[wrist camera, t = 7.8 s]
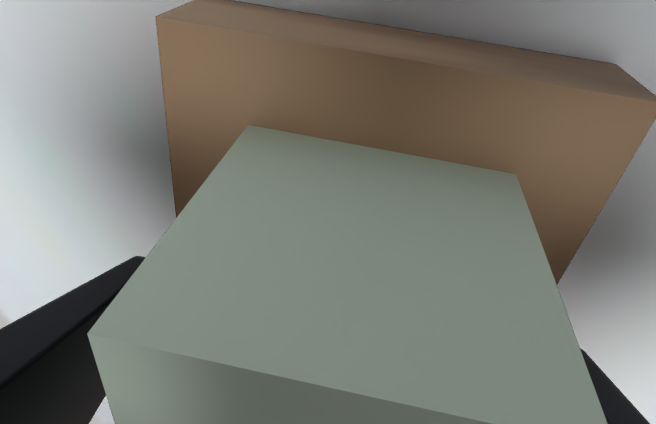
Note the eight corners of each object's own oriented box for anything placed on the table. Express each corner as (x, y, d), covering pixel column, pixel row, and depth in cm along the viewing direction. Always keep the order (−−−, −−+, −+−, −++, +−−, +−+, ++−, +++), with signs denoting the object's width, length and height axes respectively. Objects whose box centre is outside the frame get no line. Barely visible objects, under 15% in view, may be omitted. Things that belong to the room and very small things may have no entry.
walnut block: (479, 337, 16) (488, 399, 14) (216, 282, 17) (188, 334, 15) (615, 64, 10) (664, 103, 8) (203, -4, 11) (156, 16, 9)
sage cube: (441, 347, 13) (456, 609, 8) (245, 305, 13) (148, 531, 9) (516, 174, 10) (617, 452, 5) (248, 124, 10) (87, 333, 5)
